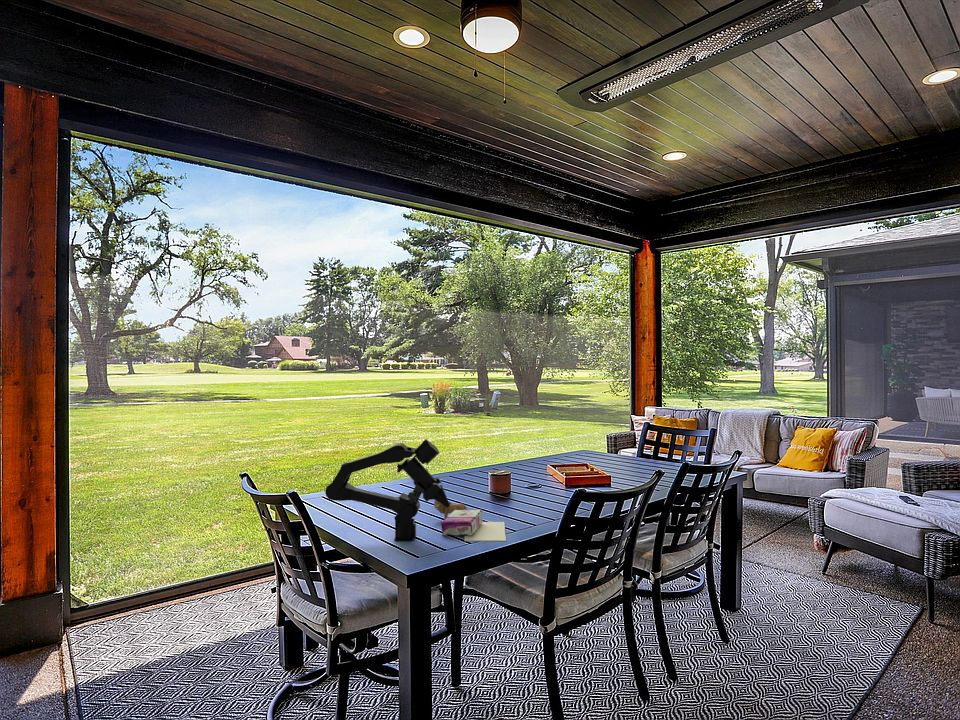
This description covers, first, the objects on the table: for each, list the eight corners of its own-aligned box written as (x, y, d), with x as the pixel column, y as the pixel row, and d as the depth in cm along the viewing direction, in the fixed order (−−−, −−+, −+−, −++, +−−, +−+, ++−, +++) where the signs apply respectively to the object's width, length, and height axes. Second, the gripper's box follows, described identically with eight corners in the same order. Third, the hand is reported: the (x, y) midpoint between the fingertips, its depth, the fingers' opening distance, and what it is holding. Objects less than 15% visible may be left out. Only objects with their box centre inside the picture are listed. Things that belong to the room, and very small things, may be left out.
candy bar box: (472, 536, 196) (483, 522, 211) (471, 522, 195) (482, 509, 211) (441, 536, 198) (454, 522, 214) (440, 522, 198) (453, 509, 214)
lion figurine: (433, 523, 214) (433, 499, 214) (434, 519, 219) (434, 495, 219) (472, 523, 214) (472, 499, 214) (472, 519, 219) (472, 495, 219)
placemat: (464, 541, 192) (464, 540, 192) (467, 522, 214) (467, 521, 214) (505, 541, 192) (505, 540, 192) (504, 522, 214) (504, 521, 214)
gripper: (402, 485, 204) (432, 517, 204) (398, 494, 185) (430, 529, 185) (425, 463, 205) (455, 495, 205) (423, 470, 186) (455, 505, 186)
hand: (449, 506), depth 195 cm, fingers closed
